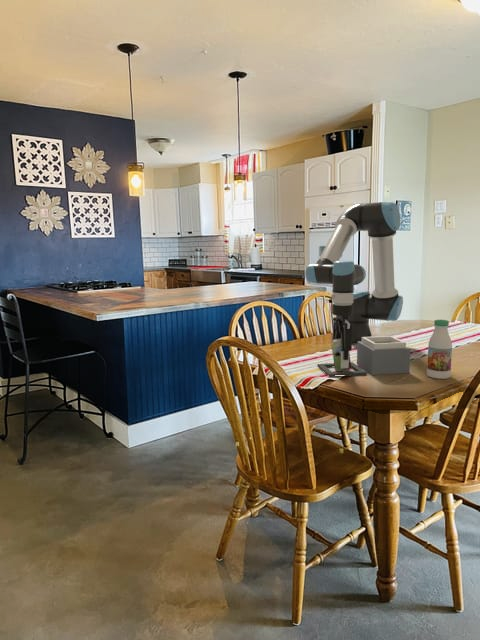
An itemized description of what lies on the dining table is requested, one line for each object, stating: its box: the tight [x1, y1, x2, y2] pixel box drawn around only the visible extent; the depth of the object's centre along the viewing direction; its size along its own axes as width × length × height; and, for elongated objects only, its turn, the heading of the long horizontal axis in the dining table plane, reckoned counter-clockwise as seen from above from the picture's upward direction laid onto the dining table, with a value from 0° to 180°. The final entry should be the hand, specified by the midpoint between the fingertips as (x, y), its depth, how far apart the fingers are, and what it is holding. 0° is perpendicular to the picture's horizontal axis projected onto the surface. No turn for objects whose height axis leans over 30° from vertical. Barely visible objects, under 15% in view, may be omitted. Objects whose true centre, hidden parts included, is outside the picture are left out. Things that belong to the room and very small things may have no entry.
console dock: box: [356, 335, 412, 376], centre depth 176 cm, size 15×14×11 cm
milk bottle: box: [426, 319, 453, 380], centre depth 164 cm, size 8×8×20 cm
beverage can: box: [331, 338, 352, 372], centre depth 174 cm, size 6×7×12 cm
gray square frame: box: [316, 361, 368, 377], centre depth 175 cm, size 14×14×1 cm
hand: (341, 365), depth 175 cm, fingers closed on beverage can, 7 cm apart
